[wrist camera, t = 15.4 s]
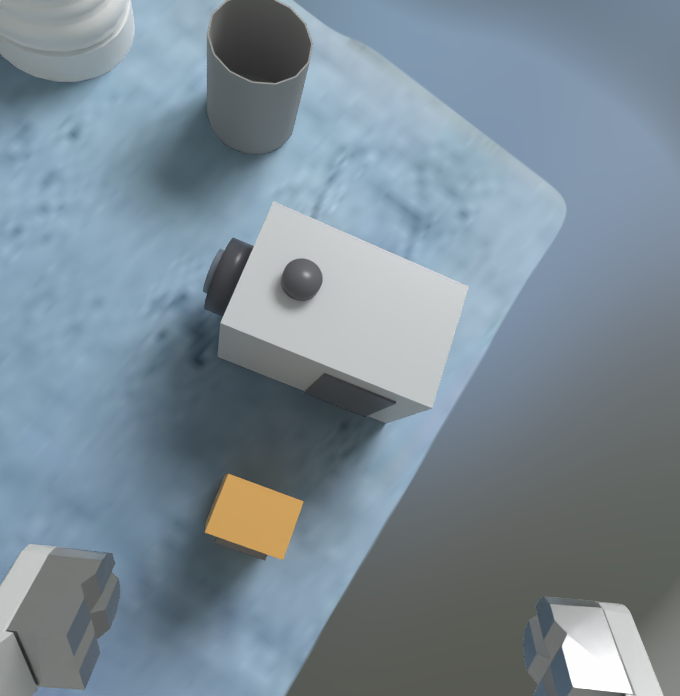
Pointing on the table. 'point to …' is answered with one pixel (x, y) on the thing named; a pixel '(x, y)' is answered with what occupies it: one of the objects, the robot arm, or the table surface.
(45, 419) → the table surface
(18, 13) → the honey pot
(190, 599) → the table surface
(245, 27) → the cup
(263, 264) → the camera housing
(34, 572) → the robot arm
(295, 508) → the tan box with label
